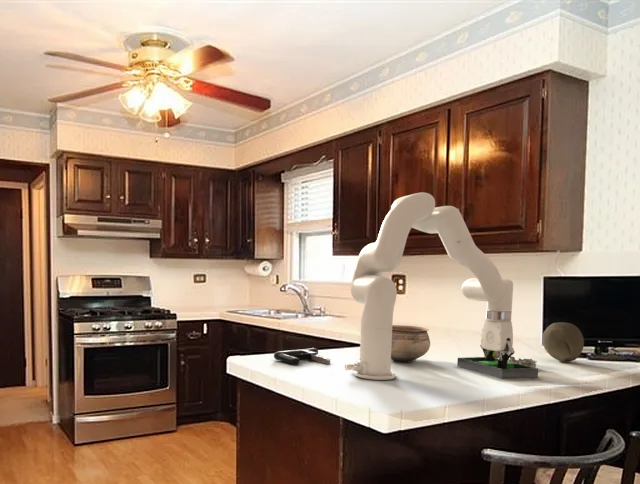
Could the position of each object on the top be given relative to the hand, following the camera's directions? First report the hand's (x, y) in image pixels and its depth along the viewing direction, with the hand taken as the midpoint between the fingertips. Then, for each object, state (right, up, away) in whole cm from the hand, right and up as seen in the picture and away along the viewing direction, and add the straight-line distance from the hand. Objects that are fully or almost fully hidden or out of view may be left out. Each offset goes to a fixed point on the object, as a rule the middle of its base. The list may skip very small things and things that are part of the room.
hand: (495, 370), depth 179 cm
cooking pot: (-25, +1, +20) cm, 32 cm away
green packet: (0, -1, 0) cm, 1 cm away
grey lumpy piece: (+14, -1, +10) cm, 17 cm away
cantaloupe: (+38, 0, +28) cm, 47 cm away
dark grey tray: (0, -1, 0) cm, 1 cm away
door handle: (-61, +1, +14) cm, 63 cm away
